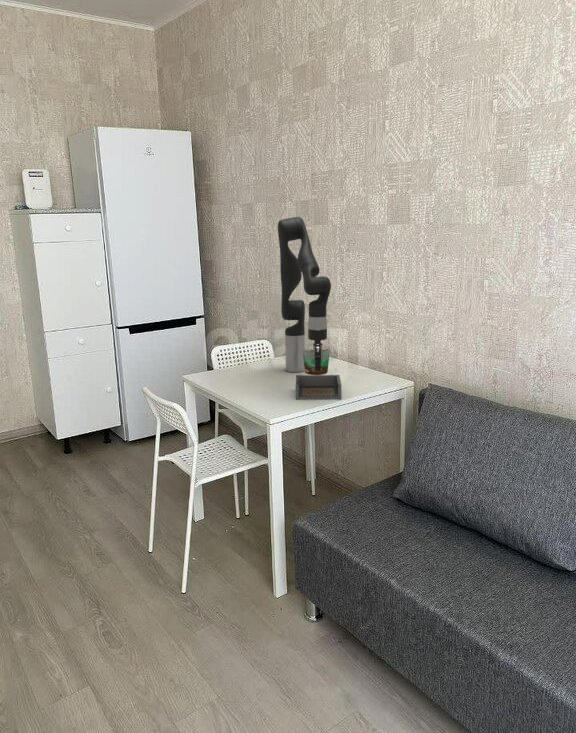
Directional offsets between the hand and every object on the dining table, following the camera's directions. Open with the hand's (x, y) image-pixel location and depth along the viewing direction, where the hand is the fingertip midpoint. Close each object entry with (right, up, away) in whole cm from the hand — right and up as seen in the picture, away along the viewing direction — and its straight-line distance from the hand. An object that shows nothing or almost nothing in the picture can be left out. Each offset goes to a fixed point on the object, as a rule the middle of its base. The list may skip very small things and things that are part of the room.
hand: (317, 368), depth 242 cm
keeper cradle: (0, -10, +4) cm, 11 cm away
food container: (0, -2, 0) cm, 2 cm away
